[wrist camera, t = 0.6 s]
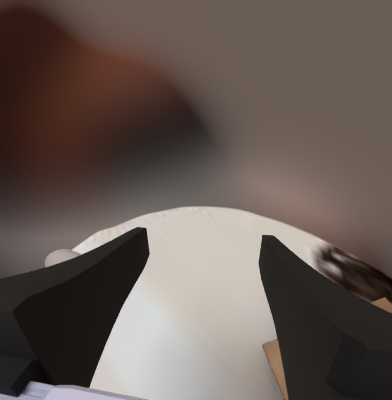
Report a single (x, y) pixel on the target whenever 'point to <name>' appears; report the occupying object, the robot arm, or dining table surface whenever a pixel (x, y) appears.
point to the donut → (60, 256)
